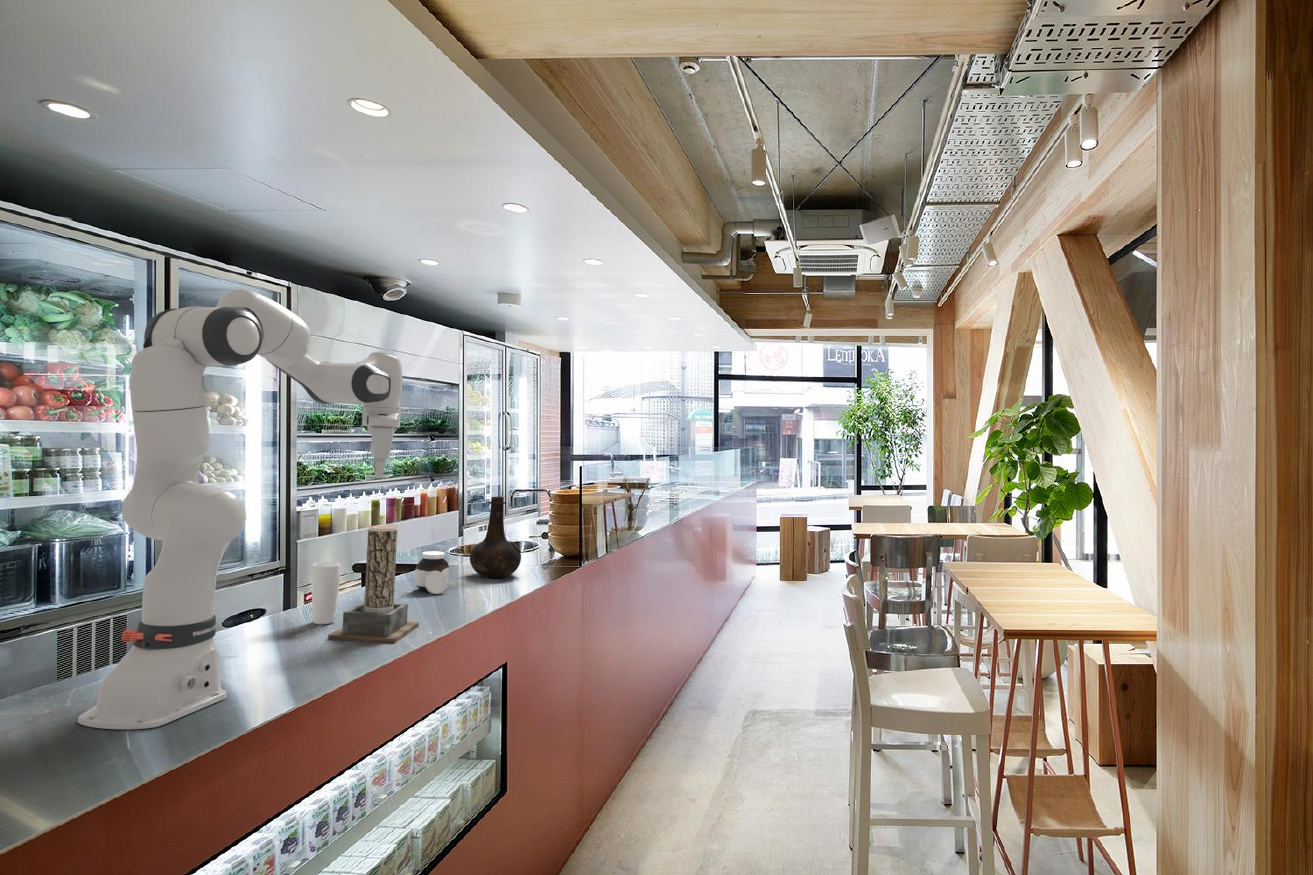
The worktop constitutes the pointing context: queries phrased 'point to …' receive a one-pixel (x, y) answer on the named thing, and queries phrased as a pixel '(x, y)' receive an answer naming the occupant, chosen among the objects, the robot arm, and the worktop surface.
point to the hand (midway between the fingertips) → (378, 475)
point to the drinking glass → (324, 591)
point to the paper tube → (380, 569)
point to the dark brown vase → (495, 547)
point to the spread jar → (432, 572)
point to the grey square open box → (374, 625)
